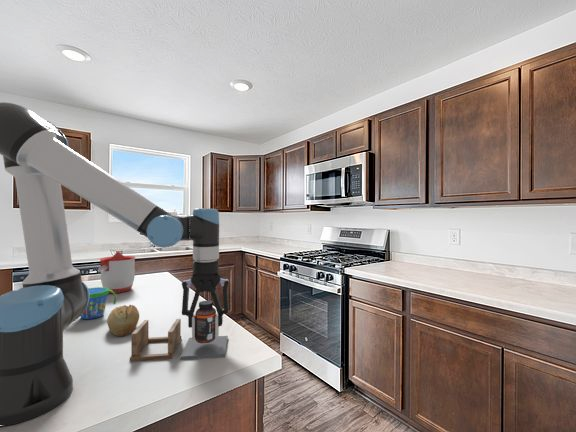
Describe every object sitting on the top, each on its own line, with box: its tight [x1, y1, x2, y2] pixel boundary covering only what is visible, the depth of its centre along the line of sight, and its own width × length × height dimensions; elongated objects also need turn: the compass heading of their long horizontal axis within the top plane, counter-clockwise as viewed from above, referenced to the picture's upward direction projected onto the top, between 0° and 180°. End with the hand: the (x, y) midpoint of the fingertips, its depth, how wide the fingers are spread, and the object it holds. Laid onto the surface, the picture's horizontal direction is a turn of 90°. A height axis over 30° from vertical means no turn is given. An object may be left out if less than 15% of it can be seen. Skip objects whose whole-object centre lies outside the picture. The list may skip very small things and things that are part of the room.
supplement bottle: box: [194, 300, 217, 343], centre depth 86 cm, size 6×6×11 cm
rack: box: [129, 318, 182, 362], centre depth 85 cm, size 12×11×7 cm
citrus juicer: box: [97, 251, 136, 295], centre depth 146 cm, size 16×17×20 cm
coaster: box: [179, 335, 228, 360], centre depth 86 cm, size 12×12×1 cm
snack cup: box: [79, 286, 117, 320], centre depth 111 cm, size 16×10×10 cm
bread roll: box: [107, 304, 140, 337], centre depth 99 cm, size 10×15×8 cm, turn 33°
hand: (205, 336), depth 86 cm, fingers closed on supplement bottle, 6 cm apart
